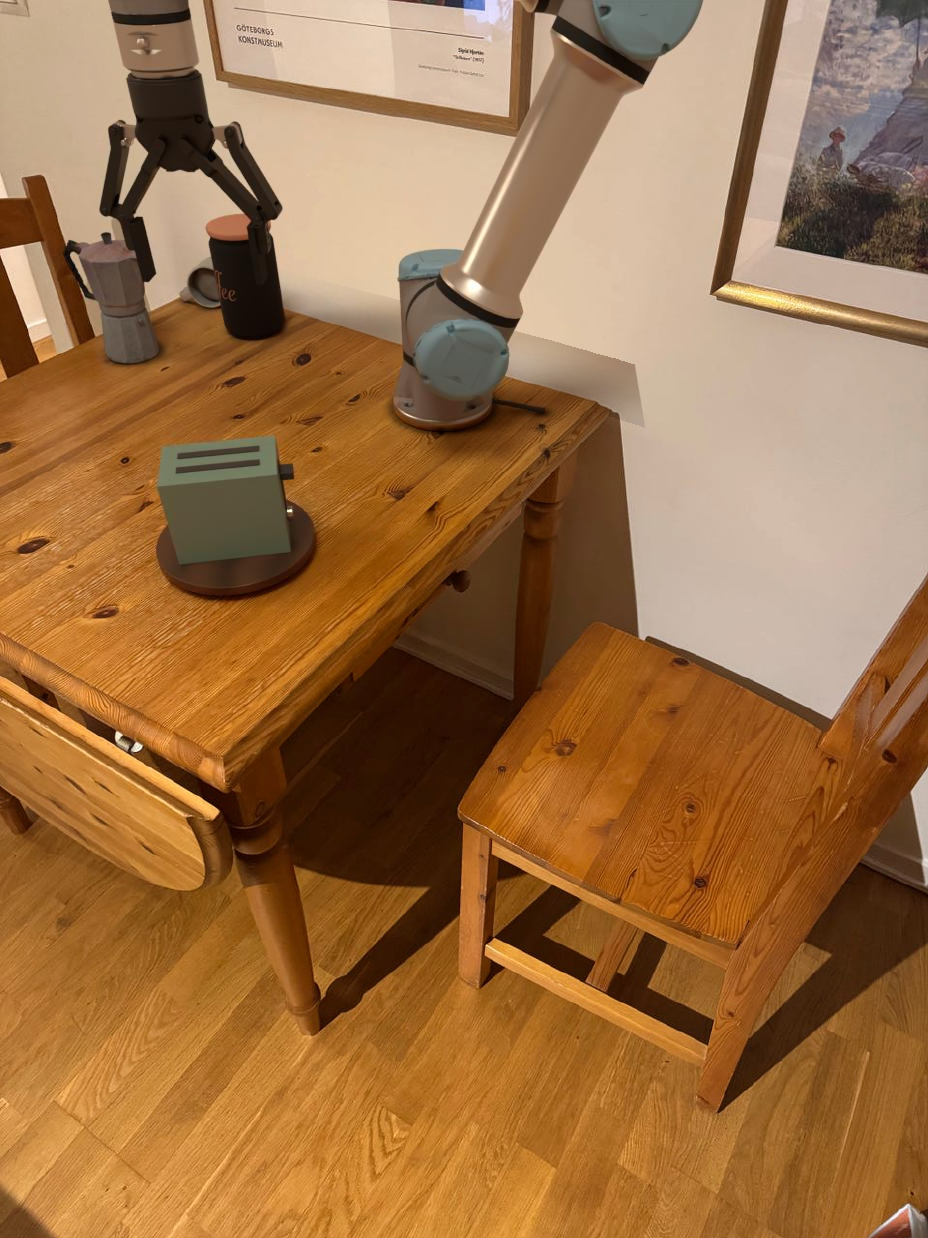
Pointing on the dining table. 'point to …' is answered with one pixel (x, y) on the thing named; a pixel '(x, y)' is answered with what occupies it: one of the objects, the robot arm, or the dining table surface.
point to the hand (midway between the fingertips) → (205, 279)
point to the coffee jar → (244, 281)
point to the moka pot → (116, 297)
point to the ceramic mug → (202, 285)
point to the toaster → (229, 517)
